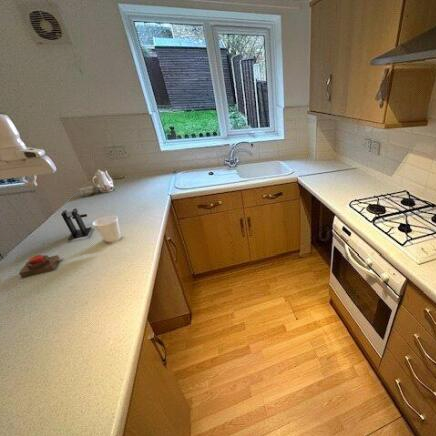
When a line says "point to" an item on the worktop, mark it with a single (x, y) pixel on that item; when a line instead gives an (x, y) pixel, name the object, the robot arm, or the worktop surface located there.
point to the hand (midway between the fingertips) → (32, 186)
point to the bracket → (73, 230)
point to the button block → (40, 266)
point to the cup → (108, 228)
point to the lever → (69, 214)
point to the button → (36, 259)
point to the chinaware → (99, 184)
